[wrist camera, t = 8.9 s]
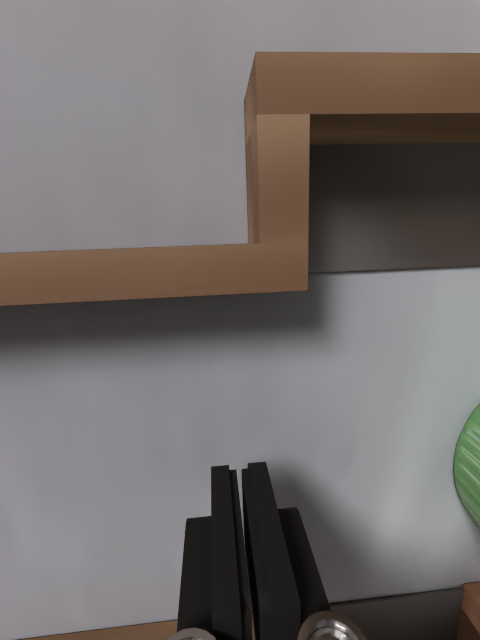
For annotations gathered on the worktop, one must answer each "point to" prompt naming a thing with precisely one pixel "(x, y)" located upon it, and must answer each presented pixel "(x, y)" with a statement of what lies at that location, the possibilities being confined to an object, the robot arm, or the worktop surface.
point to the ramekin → (469, 465)
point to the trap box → (318, 231)
